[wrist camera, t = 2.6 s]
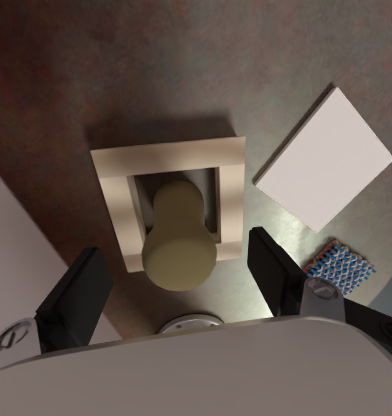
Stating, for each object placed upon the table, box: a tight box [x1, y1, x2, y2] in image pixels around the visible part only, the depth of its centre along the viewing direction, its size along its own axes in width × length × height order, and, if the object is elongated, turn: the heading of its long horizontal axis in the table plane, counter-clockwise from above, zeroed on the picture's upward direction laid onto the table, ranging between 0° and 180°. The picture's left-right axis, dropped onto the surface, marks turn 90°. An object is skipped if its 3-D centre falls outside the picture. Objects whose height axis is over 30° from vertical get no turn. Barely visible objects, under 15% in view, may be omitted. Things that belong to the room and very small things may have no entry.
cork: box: [141, 180, 217, 291], centre depth 16 cm, size 6×6×11 cm
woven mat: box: [302, 240, 376, 295], centre depth 27 cm, size 10×11×2 cm
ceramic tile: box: [253, 87, 392, 233], centre depth 20 cm, size 12×12×1 cm
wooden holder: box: [90, 136, 245, 272], centre depth 19 cm, size 14×14×2 cm
